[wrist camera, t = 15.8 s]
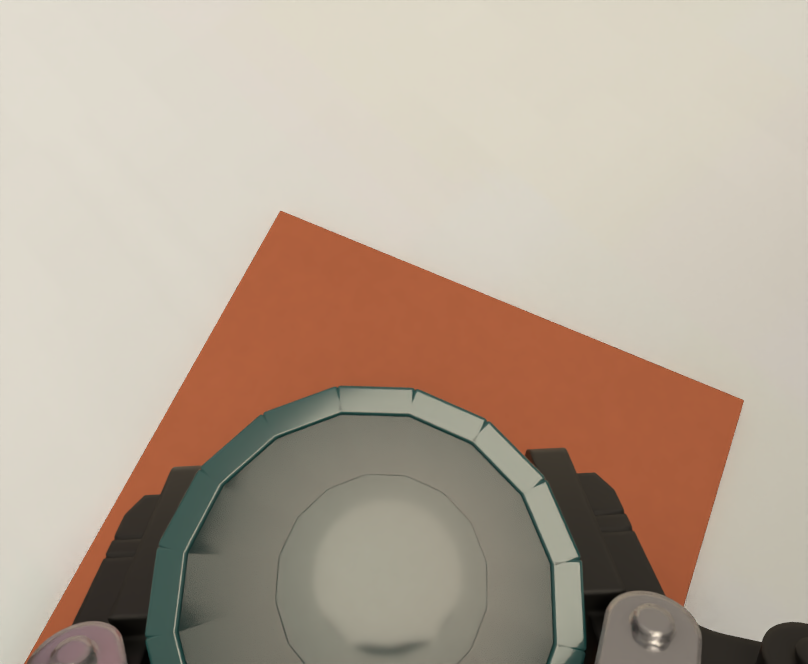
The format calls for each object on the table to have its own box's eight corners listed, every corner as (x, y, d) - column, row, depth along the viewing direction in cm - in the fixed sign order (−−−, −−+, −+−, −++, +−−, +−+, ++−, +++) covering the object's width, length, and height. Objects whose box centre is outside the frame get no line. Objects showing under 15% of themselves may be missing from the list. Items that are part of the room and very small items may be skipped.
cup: (328, 424, 18) (274, 324, 10) (536, 518, 17) (642, 485, 10) (219, 646, 16) (59, 723, 9) (445, 762, 16) (488, 955, 8)
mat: (282, 214, 20) (280, 210, 20) (739, 402, 18) (744, 400, 18) (-149, 978, 15) (-160, 987, 14) (456, 1359, 13) (457, 1378, 12)
